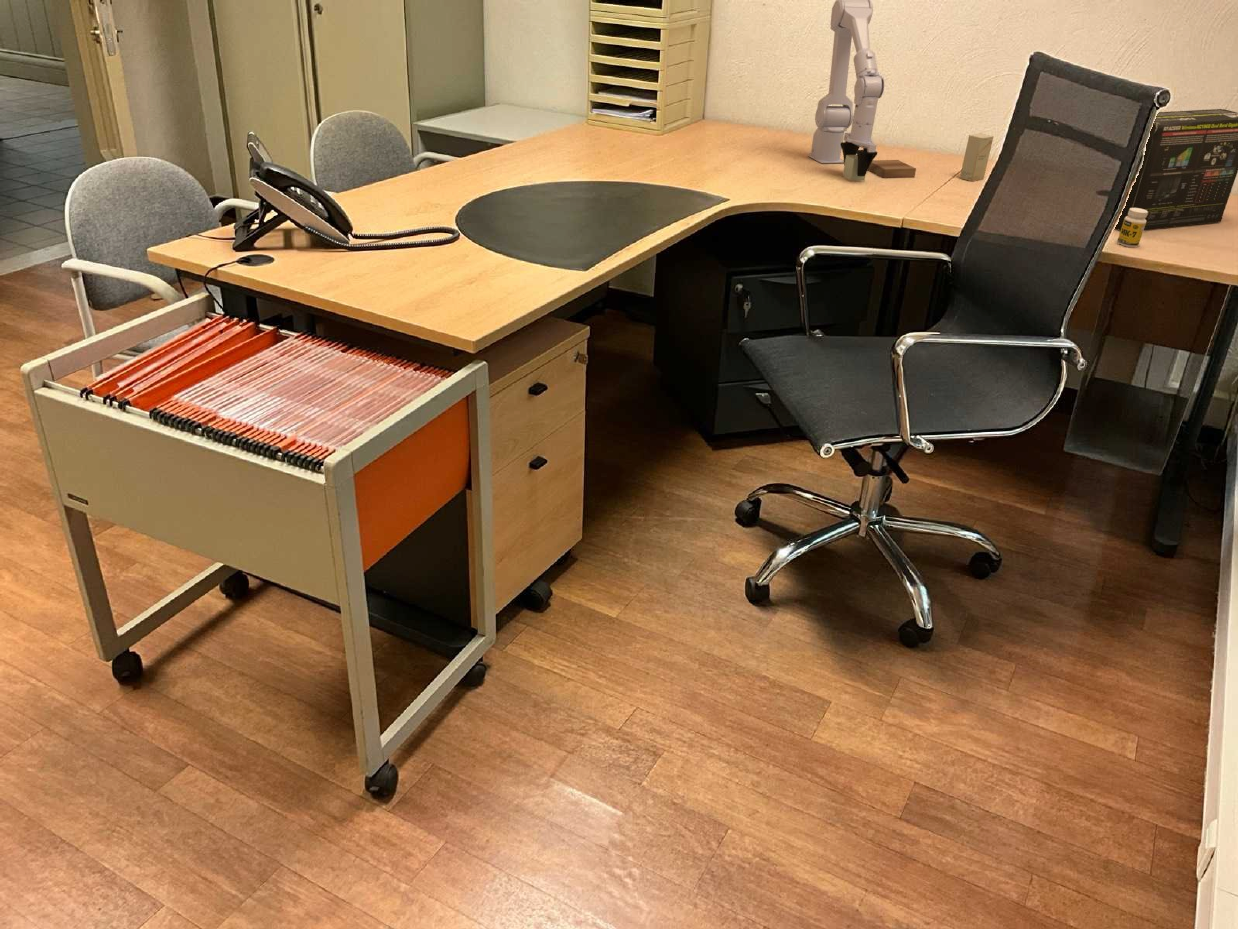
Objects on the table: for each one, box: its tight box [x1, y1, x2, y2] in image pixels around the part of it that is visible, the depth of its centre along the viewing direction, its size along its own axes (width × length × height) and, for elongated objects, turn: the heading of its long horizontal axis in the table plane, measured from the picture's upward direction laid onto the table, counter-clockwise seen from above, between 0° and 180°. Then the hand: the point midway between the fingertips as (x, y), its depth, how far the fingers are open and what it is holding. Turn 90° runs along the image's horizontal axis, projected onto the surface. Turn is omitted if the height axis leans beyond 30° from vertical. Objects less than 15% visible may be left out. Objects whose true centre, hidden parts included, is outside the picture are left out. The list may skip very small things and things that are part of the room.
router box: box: [1115, 108, 1238, 231], centre depth 248 cm, size 36×11×27 cm, turn 114°
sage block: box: [842, 154, 866, 182], centre depth 276 cm, size 4×4×6 cm
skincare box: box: [959, 133, 994, 182], centre depth 281 cm, size 6×4×12 cm
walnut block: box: [867, 159, 917, 180], centre depth 284 cm, size 10×10×3 cm
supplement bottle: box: [1116, 208, 1148, 248], centre depth 234 cm, size 5×5×8 cm
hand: (854, 172), depth 277 cm, fingers open, 7 cm apart
